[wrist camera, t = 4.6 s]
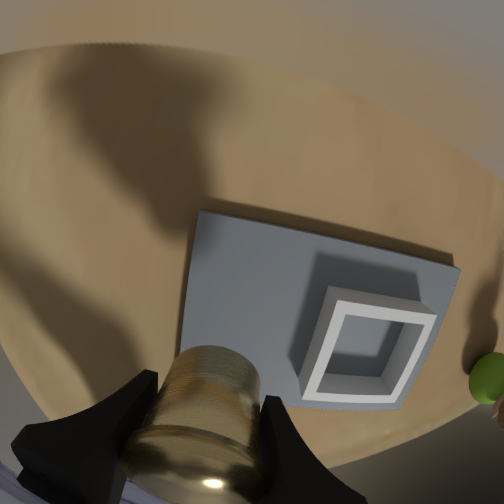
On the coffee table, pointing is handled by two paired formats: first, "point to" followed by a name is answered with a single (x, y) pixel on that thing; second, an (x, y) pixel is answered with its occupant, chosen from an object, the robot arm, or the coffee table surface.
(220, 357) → the brass door knob
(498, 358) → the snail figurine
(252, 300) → the fitting board
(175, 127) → the coffee table surface
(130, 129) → the coffee table surface
